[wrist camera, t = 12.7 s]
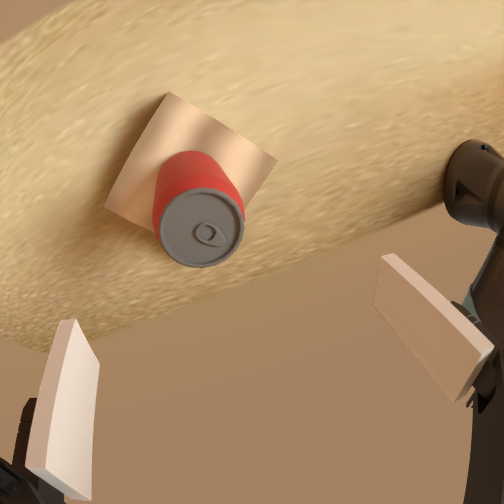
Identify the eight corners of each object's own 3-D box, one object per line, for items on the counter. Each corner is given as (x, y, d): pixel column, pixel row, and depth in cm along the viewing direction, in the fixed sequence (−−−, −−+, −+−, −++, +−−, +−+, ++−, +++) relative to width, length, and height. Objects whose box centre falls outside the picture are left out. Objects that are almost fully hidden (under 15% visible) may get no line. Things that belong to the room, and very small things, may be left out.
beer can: (197, 224, 32) (213, 290, 22) (143, 191, 29) (131, 245, 19) (236, 173, 31) (272, 217, 21) (182, 135, 28) (190, 159, 18)
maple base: (267, 153, 35) (278, 160, 31) (205, 244, 38) (209, 260, 35) (169, 92, 29) (168, 91, 26) (109, 195, 32) (102, 207, 29)
